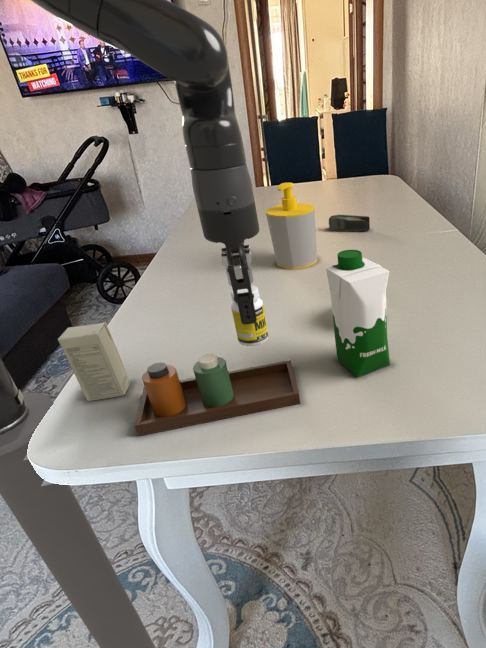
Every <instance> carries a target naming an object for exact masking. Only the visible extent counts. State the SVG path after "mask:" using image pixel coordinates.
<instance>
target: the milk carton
mask: <svg viewBox="0 0 486 648" xmlns="http://www.w3.org/2000/svg"><path fill="white" fill-rule="evenodd" d="M325 272H326V277H327V282H328V287H329V292H330V302H331V313H332V323H333V332H334V333H333V334H334V341H335V350H336V352H335V353H336V361H338V362H339V363H340V364H341V365H342V366H343V367H344V368H345V369H347V371H349V372H350V373H351V374H352V375H354V377H355V378H360V377H362V376H365V375H367V374H369V373H373V372H375V371H377V370H381V369H383V368H386V367H388V366H390V365H391V360H390V351H389V350H390V349H389V340H388V321H387V320H388V319H387V300H386V297H387V292H386V291H387V288H388V287H387V286H388V281H389V277H390V270H388V269H386V268H384V267H383V266H382V265H381V264H379V263H375V262H374V261H371V260H370V259H368V258H365V257H363V253H362V251H361V250H358V249H345V250H342V251H339V252H337V264H334V265H331V266H328V267H325Z"/></svg>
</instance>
